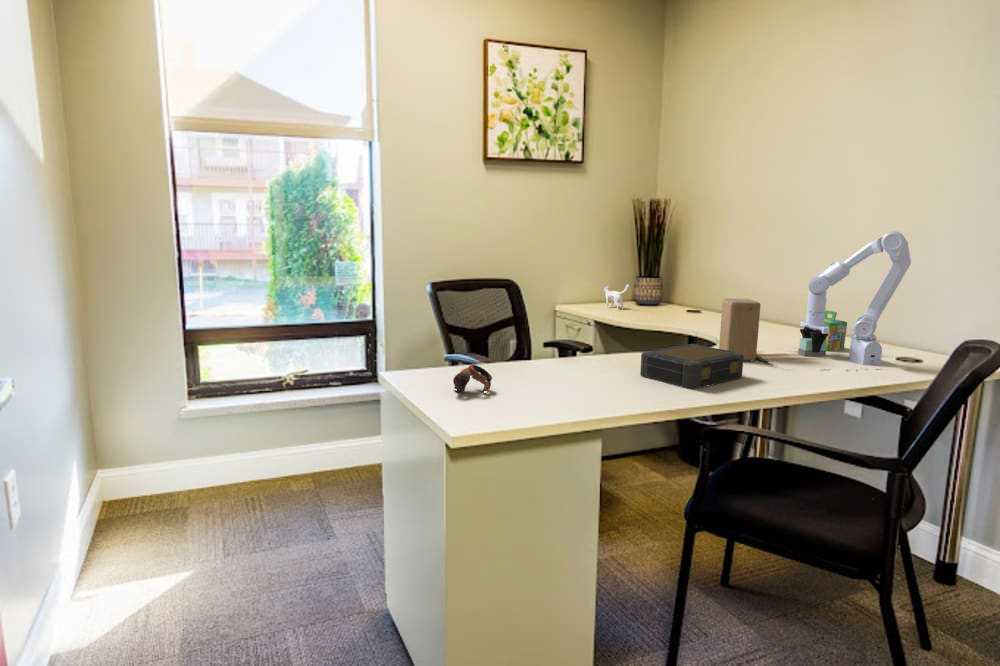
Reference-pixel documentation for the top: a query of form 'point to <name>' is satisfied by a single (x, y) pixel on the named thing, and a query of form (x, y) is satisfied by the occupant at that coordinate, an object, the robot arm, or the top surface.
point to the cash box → (691, 365)
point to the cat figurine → (614, 296)
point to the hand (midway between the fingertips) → (812, 350)
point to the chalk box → (835, 332)
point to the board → (787, 356)
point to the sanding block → (810, 348)
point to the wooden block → (740, 327)
